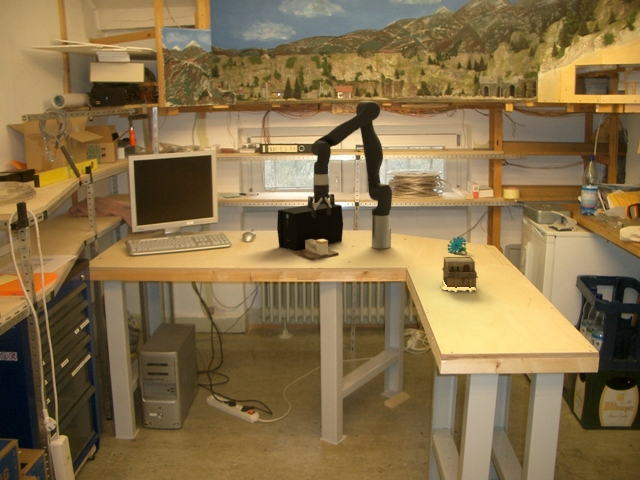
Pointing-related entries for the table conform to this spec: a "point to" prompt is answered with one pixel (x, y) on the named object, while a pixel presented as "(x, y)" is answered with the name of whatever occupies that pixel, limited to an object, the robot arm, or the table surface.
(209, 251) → the table surface
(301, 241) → the uninterruptible power supply
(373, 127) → the robot arm
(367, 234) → the table surface
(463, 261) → the miniature house
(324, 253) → the orange-striped cream block
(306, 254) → the ticket board
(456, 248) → the teal spiky round piece
